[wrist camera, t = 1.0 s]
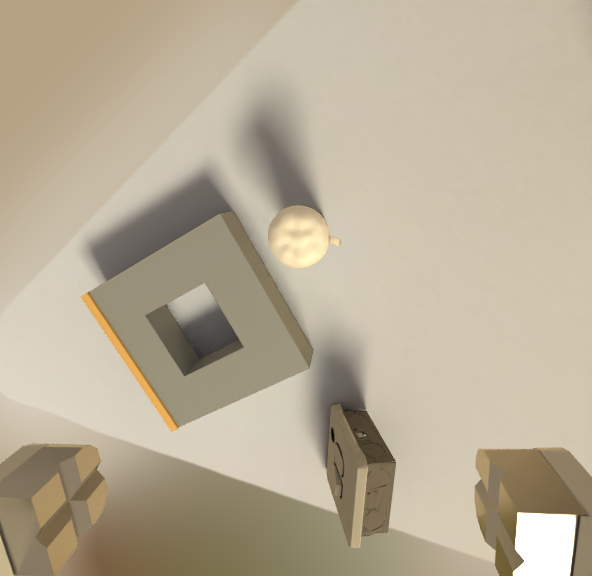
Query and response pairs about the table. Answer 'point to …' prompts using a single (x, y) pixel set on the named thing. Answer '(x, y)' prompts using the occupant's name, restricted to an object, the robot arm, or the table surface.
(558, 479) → the robot arm
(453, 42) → the table surface
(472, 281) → the table surface
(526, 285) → the table surface
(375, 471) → the electrical switch
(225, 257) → the socket block
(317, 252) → the milkshake
